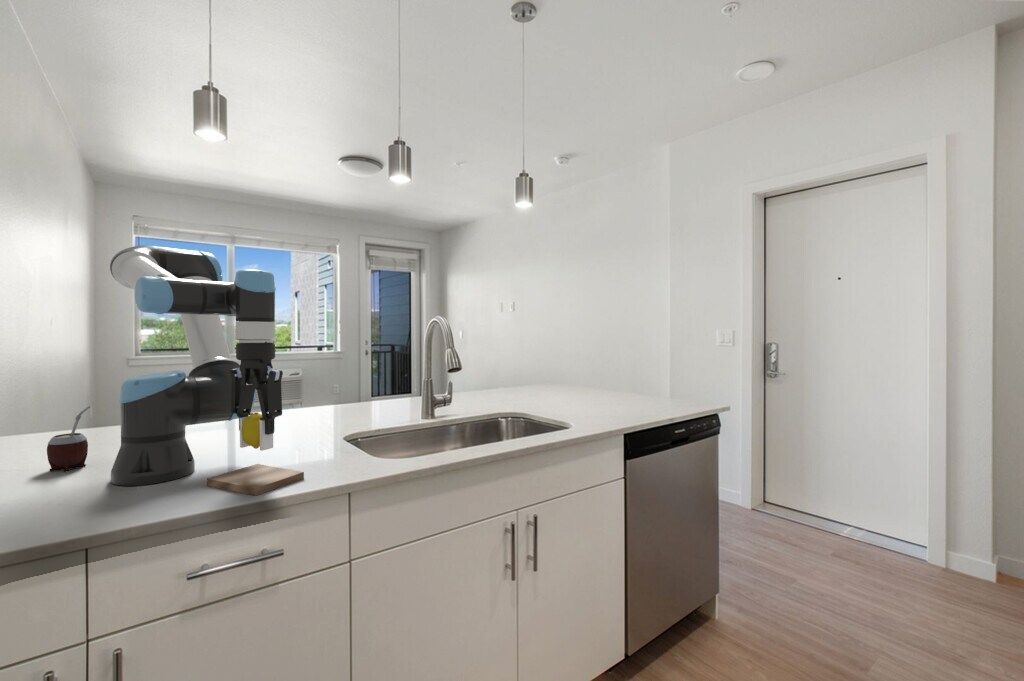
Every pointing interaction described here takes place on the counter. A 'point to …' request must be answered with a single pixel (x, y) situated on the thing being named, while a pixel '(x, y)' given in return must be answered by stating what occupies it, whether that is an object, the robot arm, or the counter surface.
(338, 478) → the counter surface
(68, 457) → the mate gourd
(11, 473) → the counter surface
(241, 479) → the walnut board
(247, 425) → the lemon
